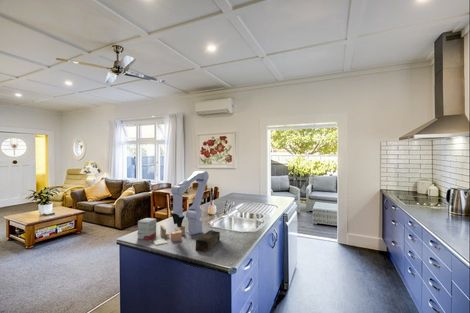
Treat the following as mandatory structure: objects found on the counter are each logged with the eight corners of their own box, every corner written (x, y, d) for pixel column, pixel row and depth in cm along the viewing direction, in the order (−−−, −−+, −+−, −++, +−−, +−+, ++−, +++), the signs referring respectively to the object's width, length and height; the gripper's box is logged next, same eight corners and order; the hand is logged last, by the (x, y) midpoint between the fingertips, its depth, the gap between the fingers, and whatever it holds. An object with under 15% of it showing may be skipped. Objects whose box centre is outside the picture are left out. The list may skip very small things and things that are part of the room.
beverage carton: (220, 240, 145) (220, 230, 145) (207, 253, 127) (207, 241, 126) (209, 239, 147) (209, 229, 147) (194, 251, 129) (194, 239, 129)
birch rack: (180, 230, 162) (180, 222, 162) (184, 235, 153) (184, 226, 153) (160, 233, 155) (160, 225, 155) (163, 238, 146) (164, 229, 146)
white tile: (164, 239, 145) (164, 238, 145) (167, 243, 139) (167, 242, 139) (153, 241, 141) (153, 240, 141) (155, 245, 135) (155, 244, 135)
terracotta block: (179, 238, 148) (180, 230, 148) (181, 240, 144) (181, 232, 144) (170, 239, 145) (170, 231, 145) (172, 241, 141) (172, 233, 141)
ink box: (156, 235, 151) (156, 218, 151) (148, 240, 143) (148, 221, 143) (145, 234, 154) (145, 217, 153) (137, 238, 145) (137, 220, 145)
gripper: (168, 202, 148) (168, 223, 148) (174, 207, 136) (174, 229, 136) (179, 201, 152) (178, 221, 152) (186, 206, 139) (185, 227, 140)
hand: (177, 225), depth 144 cm, fingers open, 7 cm apart
